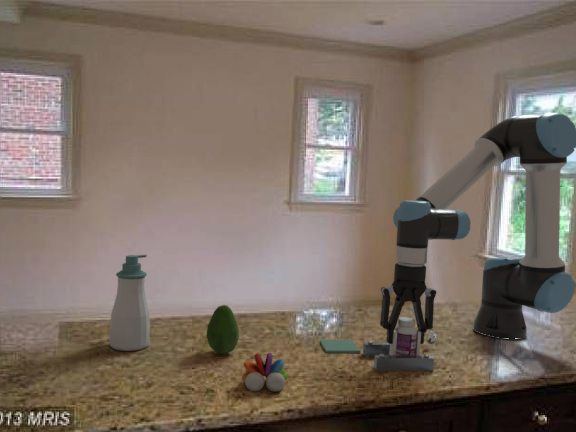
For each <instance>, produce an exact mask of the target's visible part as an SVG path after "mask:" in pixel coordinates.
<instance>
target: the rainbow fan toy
mask: <svg viewBox="0 0 576 432" xmlns="http://www.w3.org/2000/svg"><path fill="white" fill-rule="evenodd" d="M253 356H254V361H255V362H252V361H250V360H246V361H245V362H244V363H243V367H244V369H245V372H244V373H243V374H242V375H241V380H242V381H243V383H245V386H246V388H247V390H249V391H251V392H259V391H261V390H262V388H263V387H264V386H266V388H267V389H268V390H269V391H271V392H279V391H281V390H282V389H284V388H285V387H284V386H285V384H286V381H287V379H288V378H289V377H288V373H287V372H286V371H284V370H283V367H284V365H285V361H284V359H282V358H280V359H277V360H275V361H274V362H273V357H274V354H273V353H271V352H268V353H267V354H266V357H265V361H263V358H262V356H261V355H260V354H259V353H258V352H257V353H255V354H254V355H253ZM265 384H266V385H265Z"/></svg>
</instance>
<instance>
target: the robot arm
mask: <svg viewBox="0 0 576 432" xmlns="http://www.w3.org/2000/svg"><path fill="white" fill-rule="evenodd" d="M575 149H576V125H575V124H574V121H573V120H571V118H570V117H568V115H566V114H564V113H561V112H560V113H559V112H548V111H547V112H543V113H534V114H533V113H532V114H525V115H521V114H520V115H514V116H511V117H508V118H506V119H504V120H502V121H500V122H498V123H497V124H495V125H494V126H492V127H491V128H490V129H488V130H487V131H486V132H484V133H483V134H482V135H481V136H480V137H479V138H478V139H477V140H476V141H475V142H474V146H473V148H472V149H471V150H470V151H469V152H467V153H466V154H465V155H464V156H463V157H462V158H461V159H460V160H458V161H457V162H456V163H455V164H454V165H453V166H452V167H450V169H449V170H447V171H446V173H444V174H442V176H440V178H439V179H438V180H436V181H435V182H434V183H433V184H432V185H430V187H428V188H427V189H426V190H425V191H424V192H423V193H422V194H421V195H419V197H418V198H416V199H415V200H409V199H406V200H402V201H400V203H399V206H397V207H396V209H395V210H394V212H393V215H392V217H393V218H392V220H393V224H394V226H395V228H397V229H396V244H395V261H396V263H395V264H394V272H393V282H392V284H391V285H389V286H385V287H384V286H382V287H381V288H380V291H381V295H382V297H381V298H382V300H381V309H380V310H381V311H380V322H379V325H380V326H381V327H382V329H384V330H386V342H388V343H389V344H390V350H389V355H396V345H397V331H396V330H395V328H396V327H397V325H398V319H399V318H400V314H401V313H402V309H403V306H405V303H407V302H411V303H412V307H413V313H414V317H415V323H416V327H417V328H415V329H416V330H417V337H416V351H415V355H420V354H421V352H420V351H421V345H424V343H425V333H427V331H428V330H432V329H433V328H434V327H433V325H434V310H435V309H434V306H435V305H434V304H435V297H436V295H437V290H435V289H434V288H432V287H428V286H427V285H426V278H427V277H426V274H427V266H426V264H427V261H428V248H429V240H449V241H450V240H452V241H455V240H463V239H465V238H466V237H467V236H468V235H469V233H470V231H471V223H472V222H471V219H470V216H469V215H468V214H467V213H468V212H465V211H464V210H459V209H455V208H453V209H449V208H450V207H451V205H452V204H454V203H455V202H456V201H457V200H458V199H460V197H461V196H462V195H464V193H466V192H467V191H468V190H469V189H470V188H472V186H473V185H474V184H476V183H477V182H478V181H479V180H480V179H481V178H482V177H484V175H486V174H487V172H489V171H490V170H491V169H492V168H493V167H498V166H501V165H502V164H503V163H504V162H505V161H507V160H509V159H513V158H519V165H520V166H521V167H522V168H523V169H524V171H525V215H524V216H525V217H524V218H525V220H524V221H525V225H524V226H525V227H524V231H525V232H524V233H525V235H524V236H525V237H524V238H525V240H524V242H525V243H524V246H525V247H524V256H523V257H489V258H487V259H486V260H485V261H484V267H483V270H482V288H481V303H480V307H479V309H478V312H477V314H476V316H475V318H474V321H473V324H472V325H473V327H472V329H473V328H474V330H476V331H478V332H480V333H483V334H486V335H490V336H494V337H499V338H509V339H515V338H523V339H525V338H526V337H527V333H528V332H527V331H528V330H527V329H528V328H527V325H526V321H525V316H524V312H523V306H524V307H528V308H531V309H534V310H537V311H538V312H544V313H549V314H556V313H559V312H561V311H563V310H564V309H566V307H568V305H569V303H571V301H572V299H573V297H574V294H575V289H576V286H575V284H576V283H575V280H574V278H573V276H572V275H570V274H569V273H568V272H566V262H565V261H564V260H563V259H562V258H561V257H560V222H561V220H560V219H561V213H560V211H561V210H560V209H561V170H562V169H563V168H564V167H565V165H567V163H568V161H567V160H568V157H569V156H571V155H572V154H574V152H575ZM393 292H394V294H395V295H396V296H395V299H394V305H393V307H392V310H391V313H390V306H391V296H392V295H393ZM423 294H424V295H425V300H424V301H425V303H424V305H425V306H424V314H423V310H422V309H423V308H422V302H421V297H422V296H423ZM474 330H473V331H474ZM524 337H525V338H524ZM499 338H498V339H499Z"/></svg>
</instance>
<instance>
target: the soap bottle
mask: <svg viewBox="0 0 576 432" xmlns="http://www.w3.org/2000/svg"><path fill="white" fill-rule="evenodd" d="M141 258H147V254H137V255H134V254H132V255H131V254H130V255H125V262H124V263H122V264H121V266H122V269H121V270H119V271H117V272H116V273H115V276H116V277H117V290H116V294H115V300H114V302H113V307H112V311H111V313H110V323H109V339H108V340H109V341H108V342H109V346H110V347H111V348H112V349H114V350H115V351H122V352H134V351H140V350H143V349H146V347H148V346H149V345H150V340H151V339H150V337H151V336H150V335H151V334H150V333H151V331H150V330H151V323H150V309H149V305H148V301H147V296H146V291H145V290H146V289H145V279H146V277H147V275H148V274H147V272H146V271H144V270H142V264H141V263H140V262H139V259H141Z"/></svg>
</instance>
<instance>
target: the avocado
mask: <svg viewBox="0 0 576 432" xmlns="http://www.w3.org/2000/svg"><path fill="white" fill-rule="evenodd" d="M239 331H240V330H239V325H238V322H237V320H236V318H235V314H234V312H233V310H232V308H231V307H229V305H225V304H222V305H219V306H217V308H216V309H215V310H214V311H213V313H212V316H211V318H210V320H209V321H208V324H207V328H206V340H207V343H208V345H209V347H210V348H211V349H212V350H213V351H214V352H215V353H218V354H223V355H226V354H229V353H231V352H233V351H234V350H235V348H236V346H237V345H238V341H239V339H240V332H239Z"/></svg>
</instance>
